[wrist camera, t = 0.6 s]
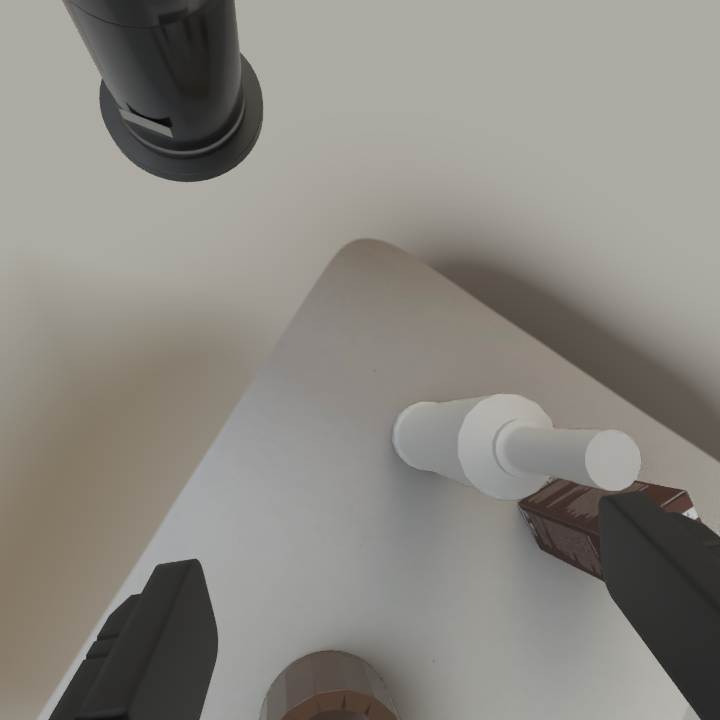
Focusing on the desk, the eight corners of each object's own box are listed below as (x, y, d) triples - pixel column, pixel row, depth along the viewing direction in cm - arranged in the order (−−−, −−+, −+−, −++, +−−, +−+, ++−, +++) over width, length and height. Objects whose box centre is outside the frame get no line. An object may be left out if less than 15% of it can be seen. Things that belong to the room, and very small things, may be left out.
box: (541, 553, 44) (640, 604, 32) (515, 502, 44) (603, 533, 32) (603, 516, 45) (721, 551, 33) (577, 465, 45) (685, 483, 33)
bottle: (413, 388, 43) (590, 352, 19) (466, 426, 44) (709, 439, 19) (376, 443, 42) (511, 481, 18) (430, 482, 43) (636, 571, 18)
